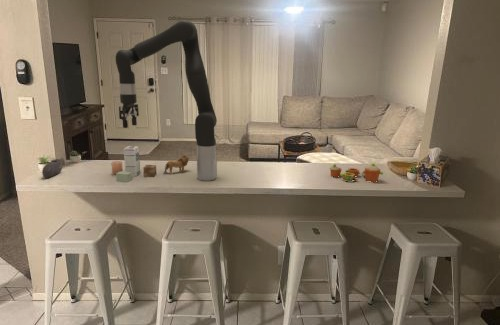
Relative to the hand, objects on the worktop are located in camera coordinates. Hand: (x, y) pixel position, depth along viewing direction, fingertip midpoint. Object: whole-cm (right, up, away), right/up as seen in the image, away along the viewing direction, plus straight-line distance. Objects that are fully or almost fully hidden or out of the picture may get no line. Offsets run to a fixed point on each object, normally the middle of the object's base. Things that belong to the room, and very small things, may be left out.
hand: (130, 126), depth 176 cm
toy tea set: (+114, -27, +9) cm, 117 cm away
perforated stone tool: (-39, -25, +2) cm, 47 cm away
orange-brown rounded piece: (-9, -24, +7) cm, 26 cm away
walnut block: (+8, -24, +6) cm, 26 cm away
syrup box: (-1, -24, +6) cm, 25 cm away
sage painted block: (-2, -27, -3) cm, 27 cm away
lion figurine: (+21, -23, +12) cm, 33 cm away
